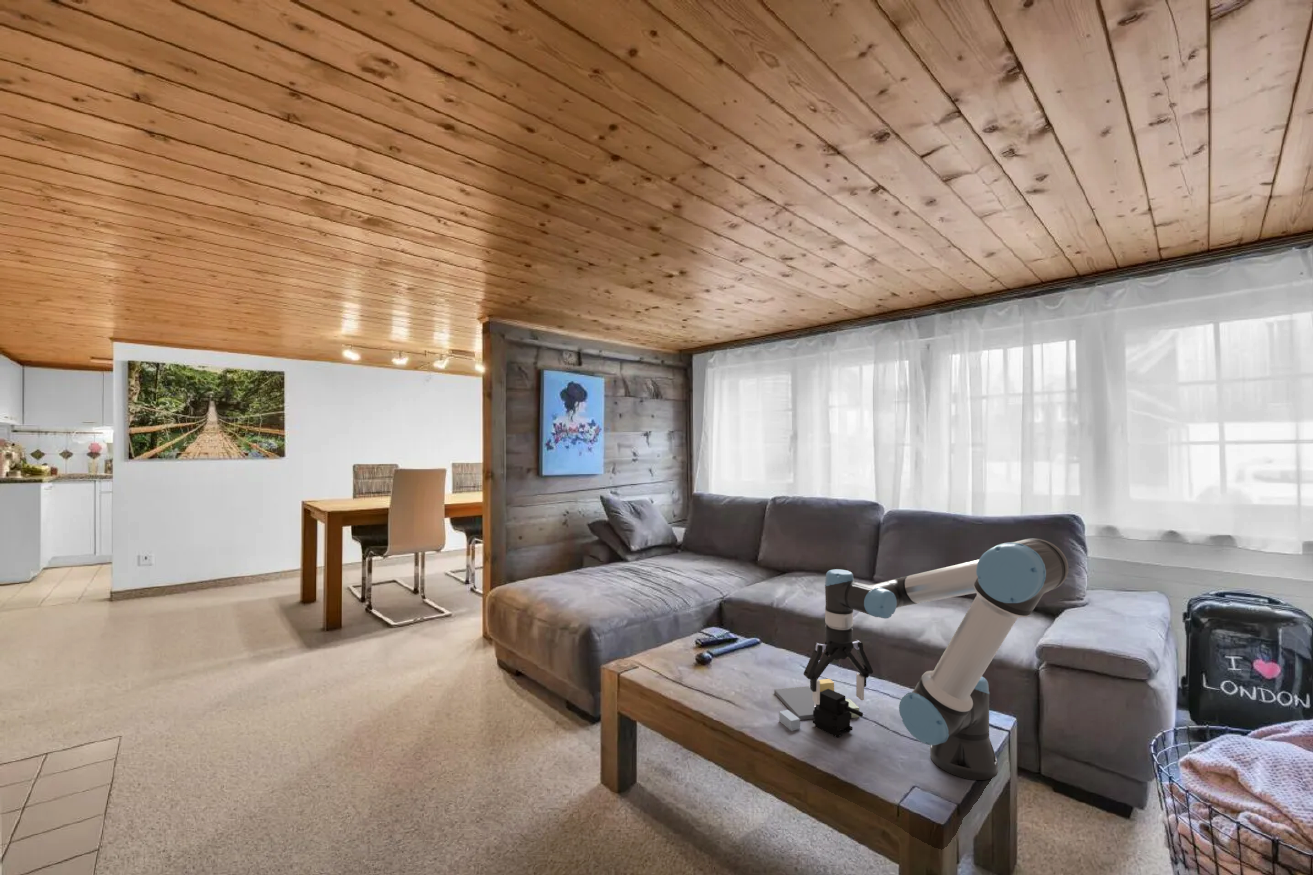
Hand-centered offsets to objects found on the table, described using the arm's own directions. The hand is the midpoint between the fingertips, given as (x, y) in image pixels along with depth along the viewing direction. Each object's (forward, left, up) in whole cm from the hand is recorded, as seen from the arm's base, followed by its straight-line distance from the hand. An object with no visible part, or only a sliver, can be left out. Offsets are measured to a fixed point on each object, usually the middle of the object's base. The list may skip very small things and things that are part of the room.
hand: (838, 700), depth 157 cm
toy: (0, 0, -9) cm, 9 cm away
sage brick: (+10, -9, -9) cm, 16 cm away
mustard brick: (+26, -9, -9) cm, 29 cm away
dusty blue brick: (+7, +12, -9) cm, 16 cm away
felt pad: (+18, +2, -9) cm, 20 cm away
